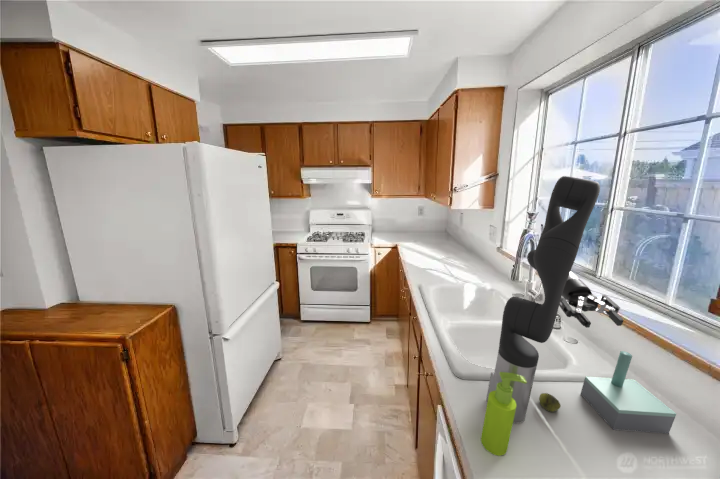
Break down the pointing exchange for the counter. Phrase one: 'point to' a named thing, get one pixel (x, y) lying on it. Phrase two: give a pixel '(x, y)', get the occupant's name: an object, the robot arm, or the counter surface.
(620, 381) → the lid
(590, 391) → the tub
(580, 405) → the counter surface
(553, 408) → the lime
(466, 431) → the counter surface
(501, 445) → the soap dispenser
